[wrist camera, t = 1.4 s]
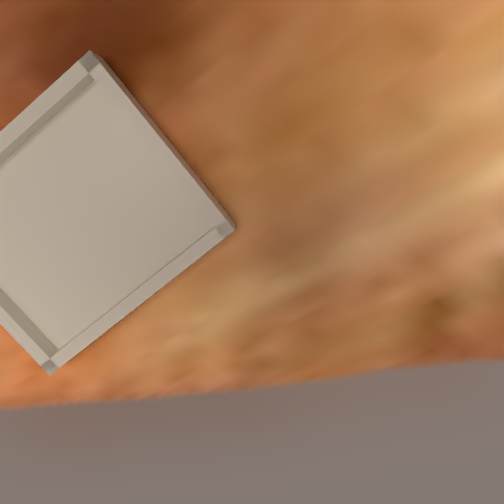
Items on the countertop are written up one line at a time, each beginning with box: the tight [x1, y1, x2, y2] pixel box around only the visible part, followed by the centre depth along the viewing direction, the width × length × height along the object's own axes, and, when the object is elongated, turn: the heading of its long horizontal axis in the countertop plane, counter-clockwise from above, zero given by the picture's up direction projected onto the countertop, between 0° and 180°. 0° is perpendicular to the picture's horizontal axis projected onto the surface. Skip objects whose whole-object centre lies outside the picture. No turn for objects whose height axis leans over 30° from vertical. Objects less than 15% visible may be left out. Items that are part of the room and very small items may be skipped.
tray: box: [0, 50, 236, 375], centre depth 33 cm, size 15×18×2 cm
